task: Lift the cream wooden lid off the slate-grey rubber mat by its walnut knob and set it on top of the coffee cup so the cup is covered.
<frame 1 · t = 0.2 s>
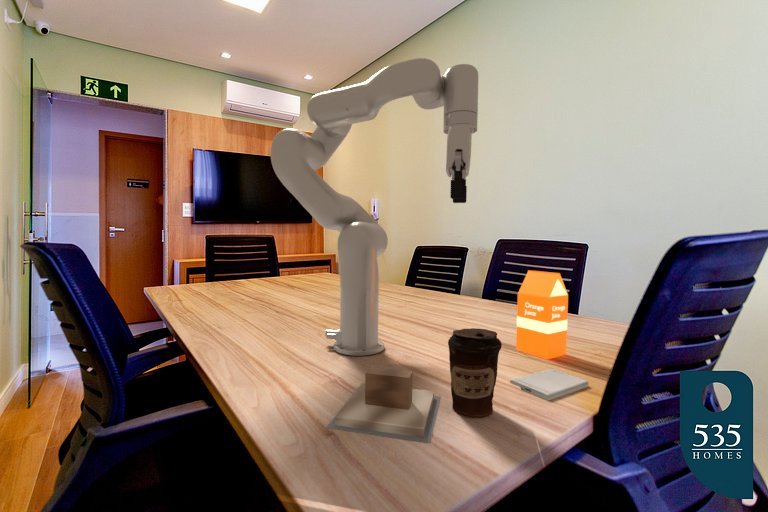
hand: (458, 200, 84), 36 cm above the table, tool pointing down, fingers open, 9 cm apart
coffee cup: (472, 413, 59), on the table
orange juice: (540, 352, 91), on the table
hard drive: (548, 389, 70), on the table
lid: (388, 410, 59), resting on mat
mat: (388, 412, 59), on the table
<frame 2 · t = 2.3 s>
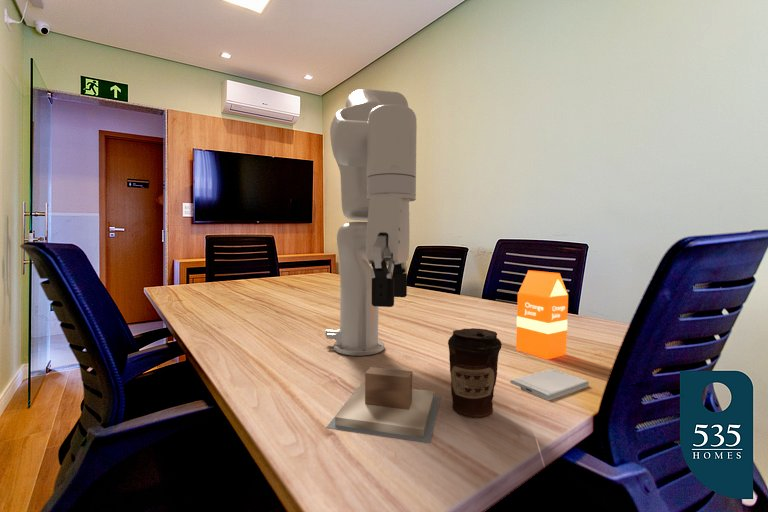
hand: (390, 301, 57), 18 cm above the table, tool pointing down, fingers open, 9 cm apart
nothing on the table moved.
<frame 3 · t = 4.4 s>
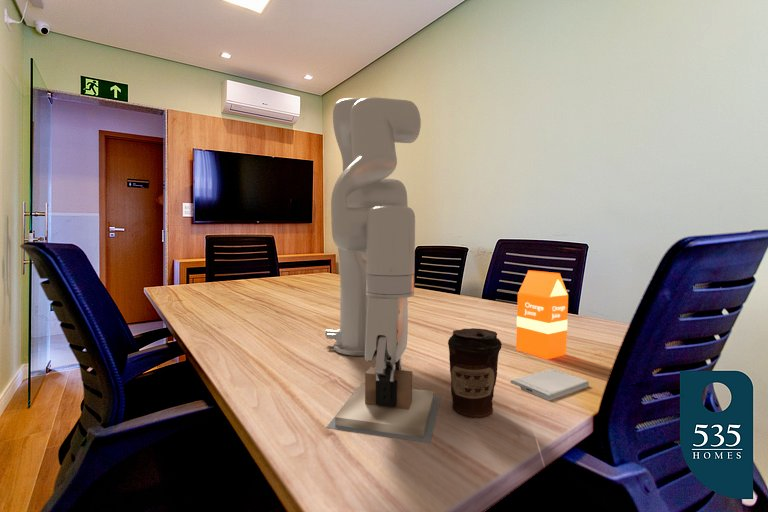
hand: (388, 399, 58), 2 cm above the table, tool pointing down, fingers closed on lid, 2 cm apart
lid: (388, 410, 59), resting on mat, touching gripper
everything else where it was.
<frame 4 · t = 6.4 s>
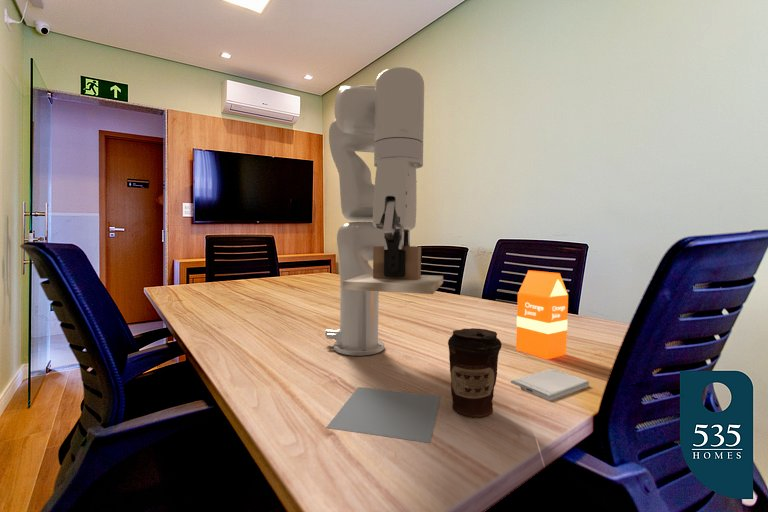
hand: (397, 274, 57), 22 cm above the table, tool pointing down, fingers closed on lid, 2 cm apart
lid: (396, 285, 58), point 20 cm above the table, touching gripper
everything else where it was.
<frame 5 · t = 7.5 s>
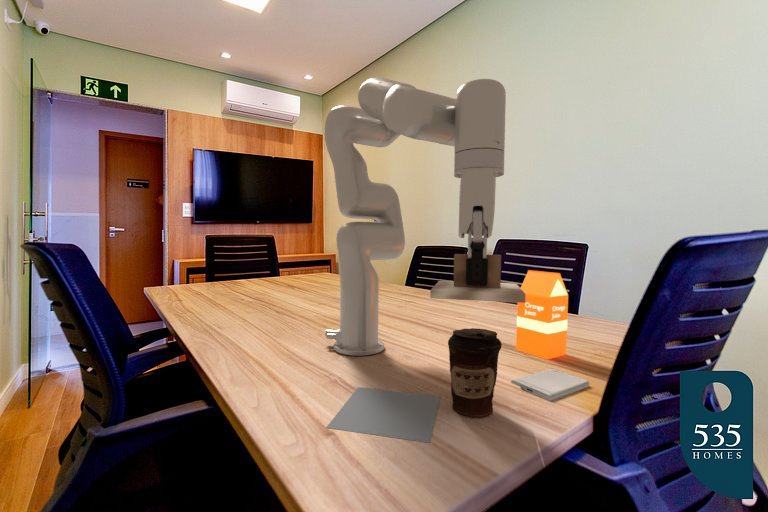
hand: (476, 282, 58), 21 cm above the table, tool pointing down, fingers closed on lid, 2 cm apart
lid: (476, 293, 58), point 19 cm above the table, touching gripper
everything else where it was.
when the fingers open (16 cm above the table, at t = 8.4 s): lid drops 2 cm, resting on coffee cup.
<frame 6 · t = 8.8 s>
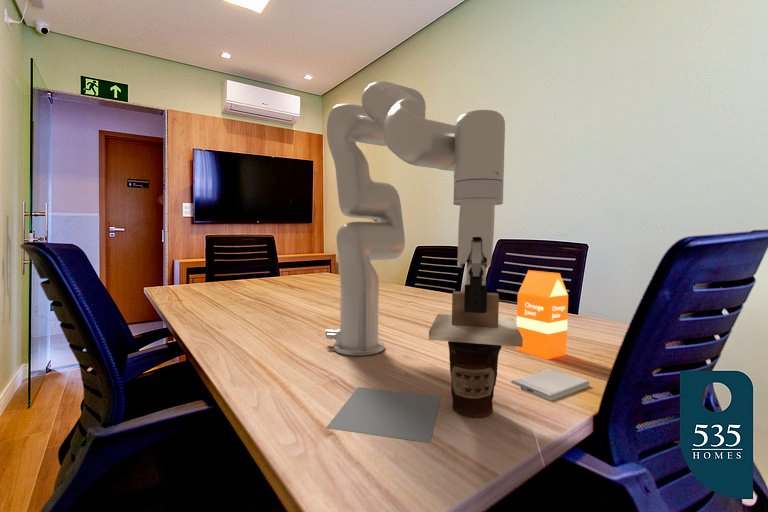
hand: (475, 306, 58), 17 cm above the table, tool pointing down, fingers open, 7 cm apart
coffee cup: (472, 413, 59), on the table, touching lid
lid: (474, 332, 59), point 13 cm above the table, touching coffee cup
everything else where it was.
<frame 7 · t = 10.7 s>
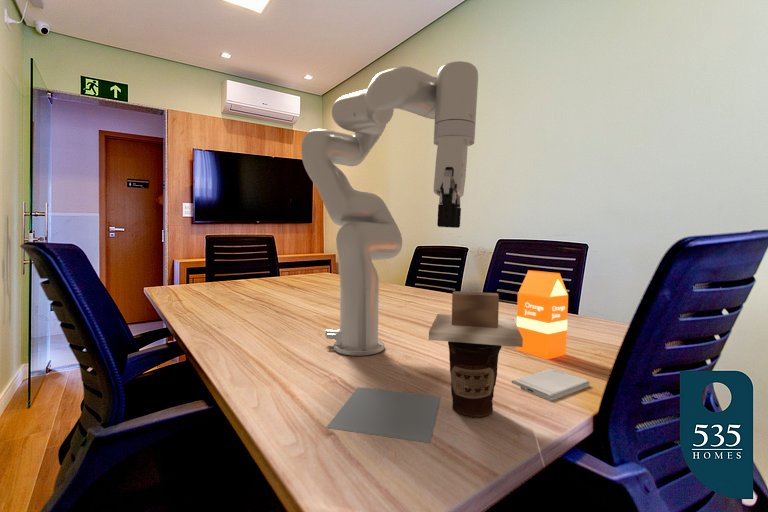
hand: (449, 227, 70), 30 cm above the table, tool pointing down, fingers open, 9 cm apart
nothing on the table moved.
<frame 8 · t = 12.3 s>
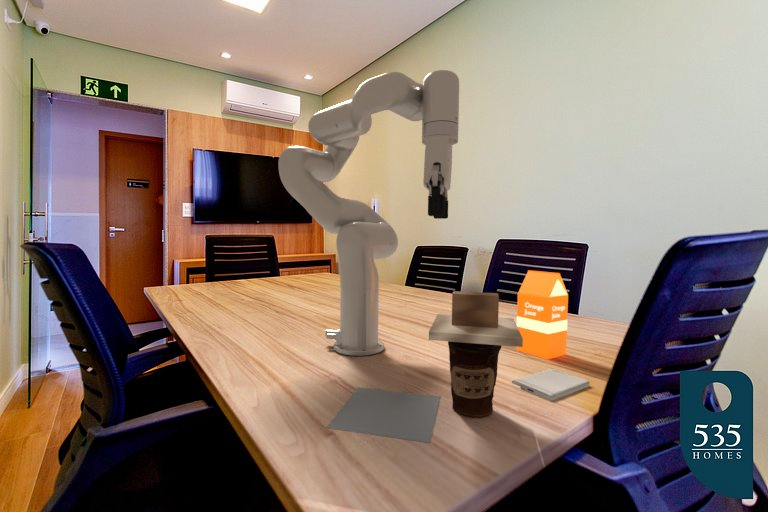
hand: (438, 217, 78), 32 cm above the table, tool pointing down, fingers open, 9 cm apart
nothing on the table moved.
at the end: lid 0.1 cm off-centre on the coffee cup, point 13.2 cm above the coffee cup's base; lid tilted 0°; coffee cup tilted 0° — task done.
